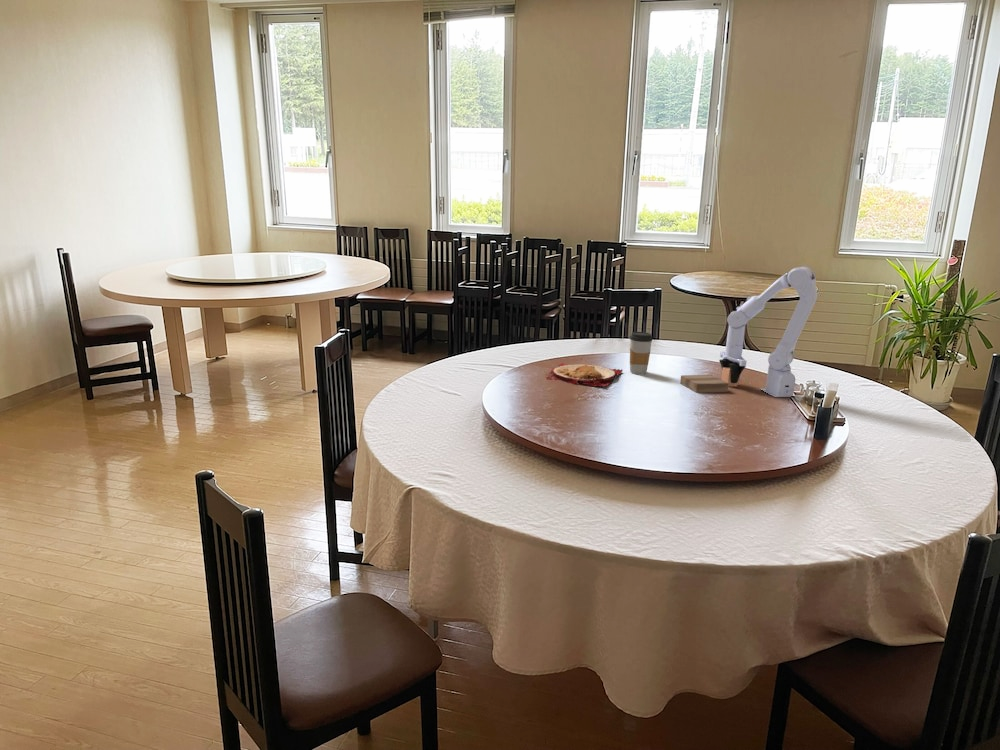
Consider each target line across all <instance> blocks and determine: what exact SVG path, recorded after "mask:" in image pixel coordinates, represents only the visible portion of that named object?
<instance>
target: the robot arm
mask: <svg viewBox="0 0 1000 750" xmlns="http://www.w3.org/2000/svg"><path fill="white" fill-rule="evenodd" d="M816 280H817V278H816V275H815V273H814V272H813V270H812V269H811V268H810V267H809V266H804V265H803V266H800V267H799V266H798V267H794V268H792V269H791V270H790V271H789V272H786V273H785V274H783V275H782V276H780V277H779V278H777V280H775V281H774V282H773V283H772V284H771V285H770V286H768V287H767V288H766V289H765V290H764V291H763V292H761V294H759V295H752V296H748V297H747V298H746V301H745V302H744V303H742V304H741V305H740V306H739V305H738V306H737V307H736V308H735V309H736V310H733V311H731V312H730V314H728V316H727V318H726V319H727V324H728V329H727V335H726V344H725V351H720V355H719V357H720V358H722V359H718V360H719V363H720V367H721V370H723V367H730V371H731V383H737V381H738V379H739V376H740V377H741V374H742V373H743V371H744V370H745V368H746V366H747V360H746V359H745V358H744V357H743V350H744V349H743V348H744V339H745V333H746V332H745V331H746V325H747V324H749V321H750V320H751V319H753V318H754V317H756V316H757V315H759V313H760V312H762V311H763V310H764V309H765V306H766V303H767V302H768V301H769V300H771V299H772V298H773V297H775V296H776V295H777V294H778V293H780V292H781V291H782V290H783V289H787V288H791V287H792V288H793V289H794V290H795V291H796V293H797V294H798V297H799V300H798V302H797V304H796V306H795V309H794V311H793V313H792V315H791V318H790V320H789V322H788V324H787V326H786V329H785V331H784V333H783V335H782V337H781V339H780V341H779V343H778V344H777V345H776V348H775V349H774V350H773V351H772V352H771V353H770V354H769V356H768V358H767V361H768V369H767V376H766V383H765V388H760V389H761V390H763V391H764V392H763V391H762V392H763V393H765V392H766V393H765V394H767V393H768V395H770V396H771V397H774V398H792V397H791V396H792V395H794V392H795V385H796V377H795V374H793V372H792V371H791V370H792V367H791V365H790V364H791V363H793V360H794V351H795V349H796V344H797V341H799V340H798V339H799V337H800V336H801V333H802V332H803V329H804V327H805V325H806V323H807V321H808V318H809V316H810V314H811V312H812V310H813V308H814V306H815V303H816V301H817V298H818V296H819V294H818V289H817V282H816ZM739 380H740V379H739ZM761 390H760V391H761Z"/></svg>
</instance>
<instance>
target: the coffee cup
mask: <svg viewBox="0 0 1000 750" xmlns="http://www.w3.org/2000/svg"><path fill="white" fill-rule="evenodd" d="M629 340H630V342H629V343H630V344H629V345H630V348H629V371H630V373H631V374H634V375H645V374H647V372H648V366H649V361H650V356H651V348H652V347H651V346H652V342H653V336H652V333H650V332H645V331H634V332H631V335H630V337H629Z"/></svg>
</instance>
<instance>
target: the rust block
mask: <svg viewBox="0 0 1000 750" xmlns="http://www.w3.org/2000/svg"><path fill="white" fill-rule="evenodd" d="M721 370H722V369H721ZM720 379H721V380H723V381H725V382H727V383H729V385H728V386H730V387H736V386H735V385H739V386H740V379H741V375H740V376H739V379H738V381H737V383H731V371H730V367H723V370H722V371H721V378H720Z"/></svg>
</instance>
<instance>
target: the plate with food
mask: <svg viewBox="0 0 1000 750" xmlns="http://www.w3.org/2000/svg"><path fill="white" fill-rule="evenodd" d="M622 372H623V369H622V368H621V369H619V368H618V369H617V368H613V369H612V368H608V367H605V366H601V365H592V364H585V363H584V364H580V363H579V364H565V363H559V364H558V367H553V368H552V369H551V371H550V372H549V374H548V375H547V377H545V379H546V380H547V381H553V380H555V381H561V382H564V381H565V382H567V384H572V385H580V383H579V382H583V383H582V384H583V385H587V386H588V387H603V388H604V387H608V386H609V385H611V384H612V382H613V381H614V380H616V379H617V378H618V377H619V375H620V374H622ZM552 375H553V376H552ZM553 377H554V378H553ZM578 381H579V382H578Z"/></svg>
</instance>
